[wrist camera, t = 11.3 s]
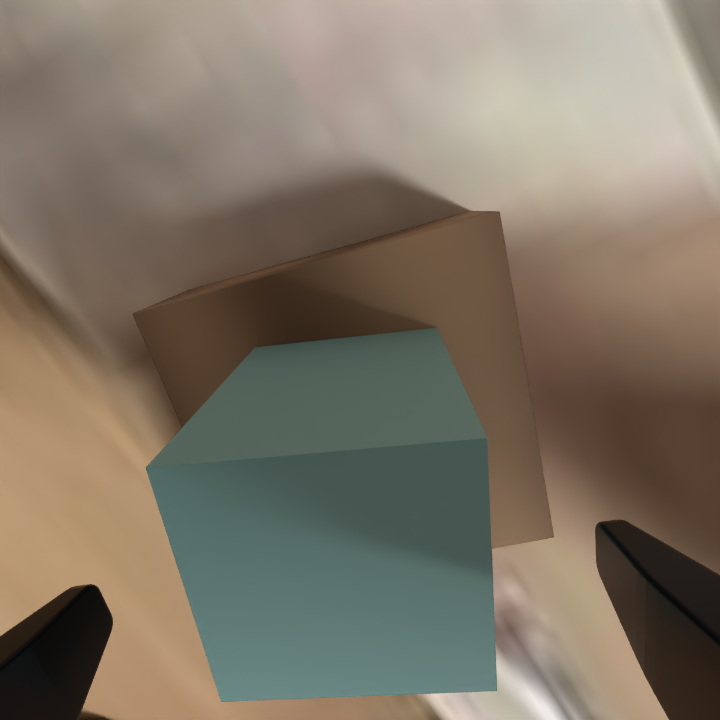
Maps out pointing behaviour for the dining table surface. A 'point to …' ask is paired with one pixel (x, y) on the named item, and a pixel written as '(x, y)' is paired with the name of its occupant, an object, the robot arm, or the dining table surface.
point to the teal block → (336, 522)
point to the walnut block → (377, 316)
